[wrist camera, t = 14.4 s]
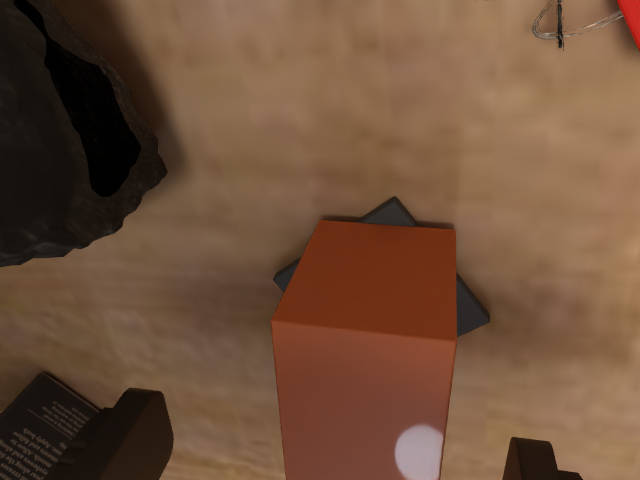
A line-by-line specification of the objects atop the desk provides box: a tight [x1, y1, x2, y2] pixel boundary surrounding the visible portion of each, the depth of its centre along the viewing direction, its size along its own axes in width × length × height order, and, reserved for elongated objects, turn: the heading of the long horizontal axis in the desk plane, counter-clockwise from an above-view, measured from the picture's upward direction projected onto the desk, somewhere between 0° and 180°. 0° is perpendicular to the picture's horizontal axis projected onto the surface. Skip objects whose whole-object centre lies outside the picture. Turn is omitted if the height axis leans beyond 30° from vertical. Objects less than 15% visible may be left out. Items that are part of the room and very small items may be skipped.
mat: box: [273, 197, 490, 337], centre depth 17 cm, size 5×5×1 cm
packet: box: [271, 220, 457, 480], centre depth 14 cm, size 6×4×5 cm
